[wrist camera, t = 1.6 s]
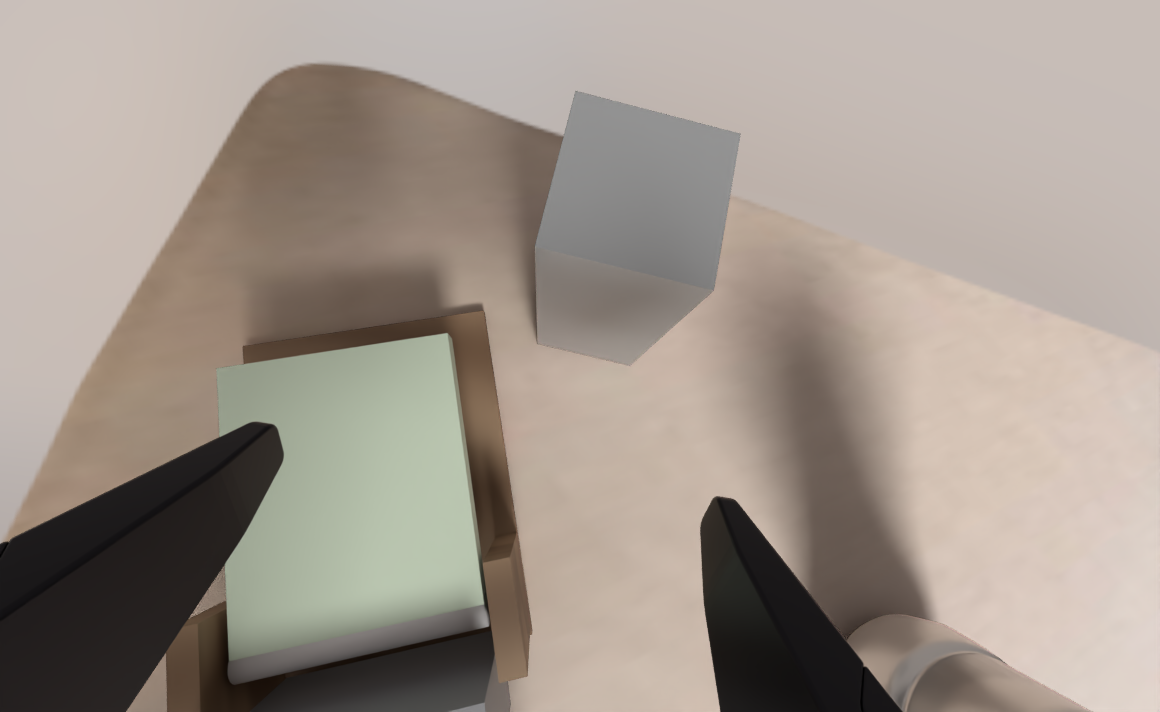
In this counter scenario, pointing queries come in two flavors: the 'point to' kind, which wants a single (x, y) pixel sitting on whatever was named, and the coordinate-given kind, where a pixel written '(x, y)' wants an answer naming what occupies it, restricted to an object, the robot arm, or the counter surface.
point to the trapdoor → (361, 535)
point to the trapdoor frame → (200, 650)
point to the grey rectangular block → (629, 227)
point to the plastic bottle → (946, 670)
